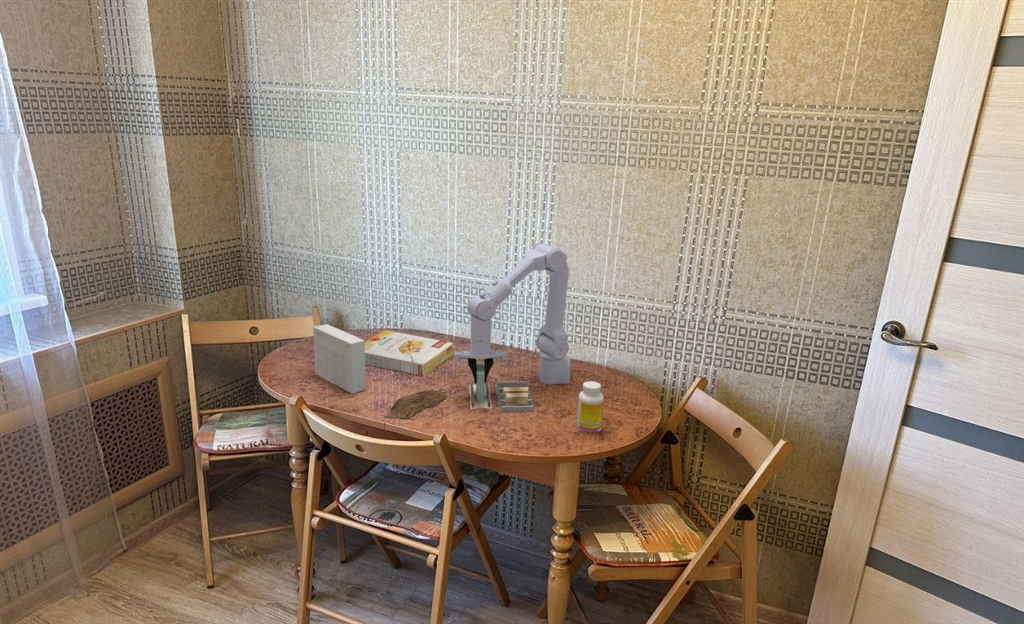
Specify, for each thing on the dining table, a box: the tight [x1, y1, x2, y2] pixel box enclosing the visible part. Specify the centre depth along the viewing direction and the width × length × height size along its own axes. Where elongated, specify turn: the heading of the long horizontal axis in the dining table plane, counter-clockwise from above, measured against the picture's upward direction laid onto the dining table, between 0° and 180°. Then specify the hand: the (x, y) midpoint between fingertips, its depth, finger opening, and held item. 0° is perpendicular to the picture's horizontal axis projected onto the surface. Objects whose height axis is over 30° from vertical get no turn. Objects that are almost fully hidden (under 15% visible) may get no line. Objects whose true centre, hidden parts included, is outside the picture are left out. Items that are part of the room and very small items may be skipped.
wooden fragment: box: [384, 388, 447, 420], centre depth 180 cm, size 26×11×1 cm, turn 143°
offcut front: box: [506, 393, 528, 406], centre depth 175 cm, size 6×2×4 cm, turn 95°
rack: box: [495, 380, 536, 413], centre depth 182 cm, size 10×19×2 cm, turn 5°
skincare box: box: [312, 323, 367, 395], centre depth 189 cm, size 21×5×16 cm, turn 47°
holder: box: [468, 380, 493, 410], centre depth 182 cm, size 6×16×2 cm, turn 5°
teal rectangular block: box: [475, 362, 485, 402], centre depth 181 cm, size 8×2×9 cm, turn 5°
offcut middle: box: [503, 387, 528, 400], centre depth 178 cm, size 7×2×4 cm, turn 95°
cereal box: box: [364, 329, 454, 376], centre depth 210 cm, size 20×6×28 cm
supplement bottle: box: [576, 380, 605, 433], centre depth 165 cm, size 7×7×13 cm
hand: (480, 382), depth 181 cm, fingers closed on teal rectangular block, 2 cm apart
